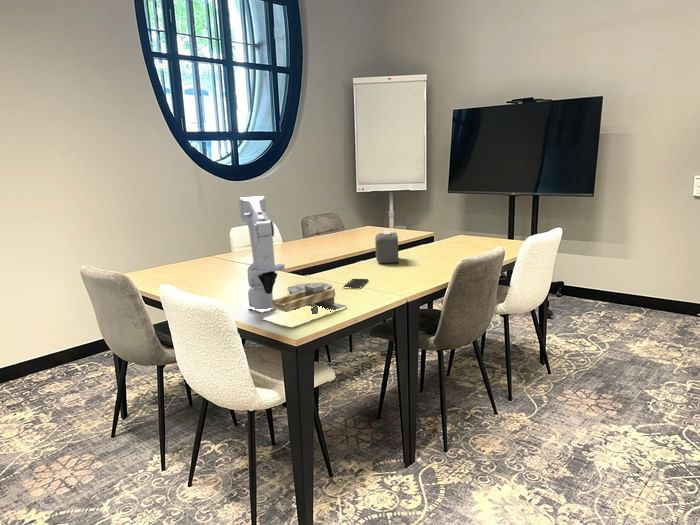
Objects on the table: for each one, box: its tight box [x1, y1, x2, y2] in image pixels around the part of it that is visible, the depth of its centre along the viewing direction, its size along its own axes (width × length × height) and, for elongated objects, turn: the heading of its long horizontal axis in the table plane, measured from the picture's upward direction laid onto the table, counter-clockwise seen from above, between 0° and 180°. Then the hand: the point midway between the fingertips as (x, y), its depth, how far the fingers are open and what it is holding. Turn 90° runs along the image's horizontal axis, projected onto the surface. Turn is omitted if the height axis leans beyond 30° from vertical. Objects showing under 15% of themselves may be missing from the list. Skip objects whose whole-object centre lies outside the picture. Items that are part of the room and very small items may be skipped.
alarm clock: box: [374, 230, 399, 264], centre depth 278 cm, size 16×11×16 cm
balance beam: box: [272, 288, 336, 312], centre depth 193 cm, size 24×12×6 cm, turn 138°
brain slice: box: [286, 282, 333, 295], centre depth 222 cm, size 20×17×3 cm
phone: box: [343, 278, 369, 288], centre depth 234 cm, size 8×1×15 cm
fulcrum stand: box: [295, 302, 347, 314], centre depth 194 cm, size 28×16×3 cm, turn 138°
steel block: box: [305, 282, 324, 297], centre depth 196 cm, size 5×5×4 cm
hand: (268, 293), depth 185 cm, fingers closed
